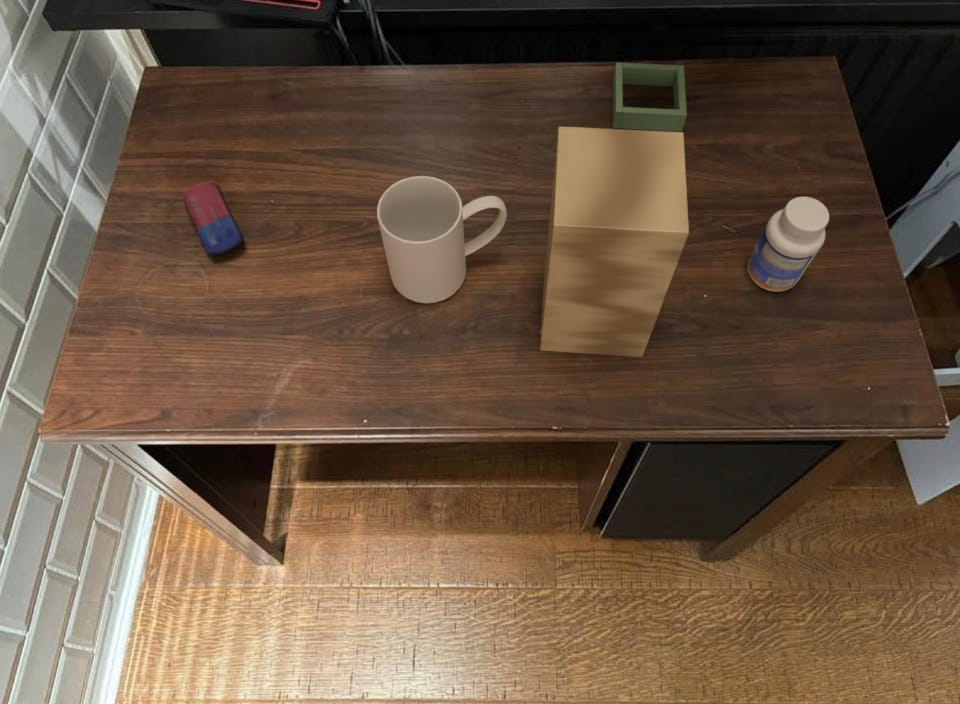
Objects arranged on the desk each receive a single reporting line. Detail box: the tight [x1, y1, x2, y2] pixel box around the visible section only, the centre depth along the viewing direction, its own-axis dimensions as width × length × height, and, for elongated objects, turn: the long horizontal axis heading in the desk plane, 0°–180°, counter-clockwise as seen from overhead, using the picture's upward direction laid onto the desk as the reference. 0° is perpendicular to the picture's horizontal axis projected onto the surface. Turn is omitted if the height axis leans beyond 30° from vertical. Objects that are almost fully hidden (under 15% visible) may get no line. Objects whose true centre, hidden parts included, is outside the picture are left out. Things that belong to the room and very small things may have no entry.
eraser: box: [182, 180, 246, 260], centre depth 80 cm, size 11×4×2 cm, turn 28°
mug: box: [376, 175, 508, 304], centre depth 73 cm, size 12×8×10 cm, turn 102°
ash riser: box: [539, 126, 690, 358], centre depth 66 cm, size 10×10×20 cm
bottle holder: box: [612, 62, 688, 132], centre depth 87 cm, size 8×8×3 cm
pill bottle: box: [746, 196, 830, 293], centre depth 72 cm, size 5×5×10 cm
